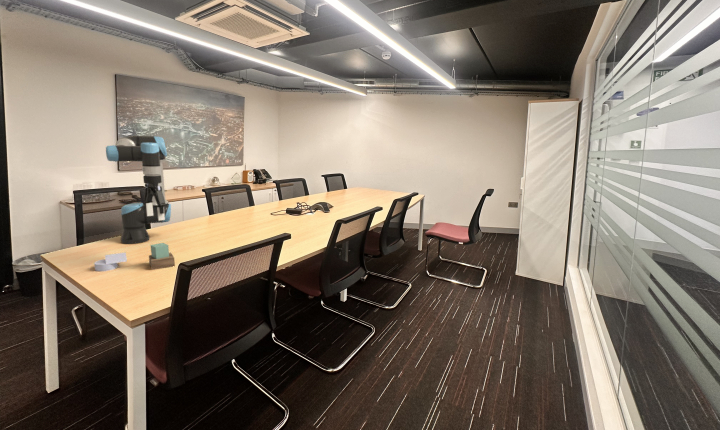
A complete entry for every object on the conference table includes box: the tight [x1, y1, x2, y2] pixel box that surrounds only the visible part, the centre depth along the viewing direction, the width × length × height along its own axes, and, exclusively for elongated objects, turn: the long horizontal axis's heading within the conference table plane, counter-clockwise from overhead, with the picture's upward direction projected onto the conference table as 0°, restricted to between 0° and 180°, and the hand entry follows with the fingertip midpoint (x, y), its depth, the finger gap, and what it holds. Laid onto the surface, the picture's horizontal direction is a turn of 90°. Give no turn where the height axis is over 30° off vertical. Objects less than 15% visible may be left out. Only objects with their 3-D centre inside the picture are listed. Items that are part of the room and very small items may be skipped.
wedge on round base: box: [93, 252, 128, 272], centre depth 175 cm, size 9×7×13 cm
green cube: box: [150, 242, 170, 259], centre depth 179 cm, size 6×6×6 cm
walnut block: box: [148, 251, 176, 271], centre depth 180 cm, size 10×10×5 cm
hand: (155, 217), depth 175 cm, fingers open, 13 cm apart
